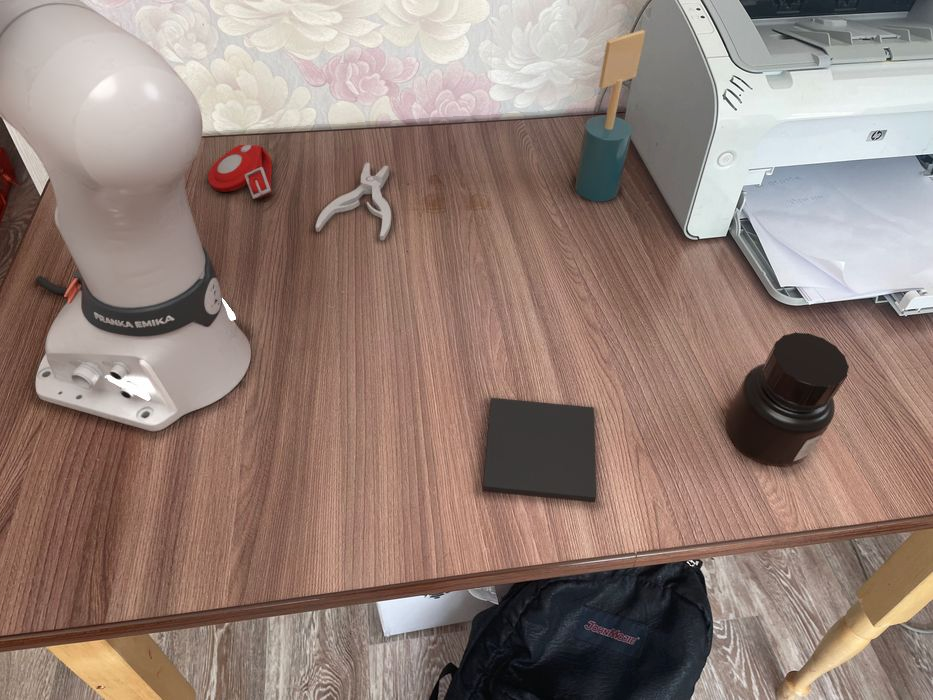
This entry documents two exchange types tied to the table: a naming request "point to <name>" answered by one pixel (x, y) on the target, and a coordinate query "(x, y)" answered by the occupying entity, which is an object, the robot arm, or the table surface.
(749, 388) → the ink bottle
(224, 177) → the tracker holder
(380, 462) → the table surface
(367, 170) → the pliers
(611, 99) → the spatula crock
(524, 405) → the plate
